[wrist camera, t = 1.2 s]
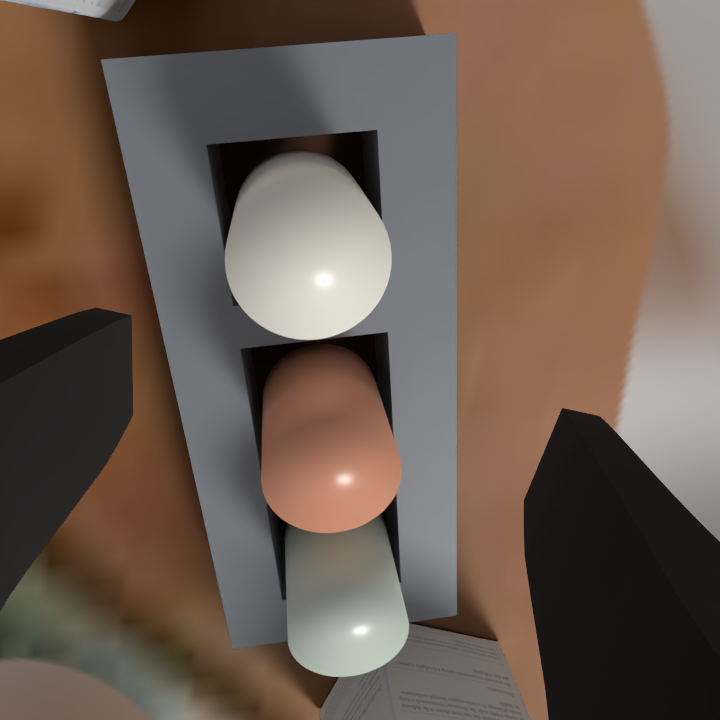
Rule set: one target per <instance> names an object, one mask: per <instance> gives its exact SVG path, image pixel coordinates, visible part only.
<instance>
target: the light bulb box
mask: <svg viewBox="0 0 720 720" xmlns="http://www.w3.org/2000/svg"><path fill="white" fill-rule="evenodd" d="M3 1H9V2H15V3H20V4H25V5H30V6H35V7H41V8H47V9H53V10H59V11H63V12H70V13H75V14H79V15H86V16H90V17H95V18H101V19H106V20H111V21H121V20H122V19H123V18H124V17H125V16H126V14H127V13H128V11H129V10H130V8H131V7H132V5H133V4H134V2H135V0H3Z"/></svg>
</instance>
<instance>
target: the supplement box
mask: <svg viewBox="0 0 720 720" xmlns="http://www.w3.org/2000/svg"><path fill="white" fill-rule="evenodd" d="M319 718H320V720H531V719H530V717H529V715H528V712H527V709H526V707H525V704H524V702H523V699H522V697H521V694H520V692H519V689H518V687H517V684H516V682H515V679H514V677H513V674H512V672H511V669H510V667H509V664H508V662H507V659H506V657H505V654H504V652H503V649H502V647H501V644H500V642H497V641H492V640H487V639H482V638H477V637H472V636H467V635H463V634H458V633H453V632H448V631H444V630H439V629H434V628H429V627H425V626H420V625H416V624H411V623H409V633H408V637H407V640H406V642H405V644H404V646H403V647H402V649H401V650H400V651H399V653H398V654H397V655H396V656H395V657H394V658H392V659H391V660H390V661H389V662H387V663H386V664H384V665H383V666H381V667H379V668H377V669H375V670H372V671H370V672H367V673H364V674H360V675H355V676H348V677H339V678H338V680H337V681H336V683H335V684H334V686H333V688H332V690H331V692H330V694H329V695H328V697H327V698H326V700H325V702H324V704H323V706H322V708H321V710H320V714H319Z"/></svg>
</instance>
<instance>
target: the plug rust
mask: <svg viewBox="0 0 720 720" xmlns="http://www.w3.org/2000/svg"><path fill="white" fill-rule="evenodd" d="M401 476H402V467H401V460H400V457H399V453H398V450H397V447H396V444H395V441H394V438H393V434H392V431H391V428H390V425H389V422H388V419H387V416H386V412H385V409H384V406H383V403H382V400H381V397H380V394H379V391H378V387H377V384H376V381H375V378H374V375H373V373H372V371H371V369H370V368H369V366H368V365H367V364H366V362H365V361H364V360H363V359H362V358H361V357H359V356H358V355H357V354H355V353H354V352H352V351H350V350H348V349H346V348H344V347H340V346H337V345H332V344H313V345H307V346H304V347H300V348H298V349H296V350H293V351H292V352H290V353H288V354H287V355H285V356H284V357H283V358H281V359H280V360H279V361H278V362H277V363H276V364H275V365H274V367H273V368H272V369H271V371H270V373H269V374H268V376H267V379H266V381H265V385H264V389H263V418H262V461H261V484H262V490H263V494H264V496H265V499H266V501H267V503H268V504H269V506H270V507H271V509H272V510H273V511H274V512H275V513H276V514H277V515H278V516H279V517H280V518H281V519H283V520H284V521H286V522H287V523H289V524H291V525H293V526H295V527H297V528H300V529H303V530H306V531H311V532H317V533H336V532H342V531H347V530H351V529H354V528H357V527H359V526H362V525H364V524H366V523H367V522H369V521H371V520H373V519H374V518H375V517H377V516H378V515H379V514H380V513H382V512H383V511H384V510H385V509H386V508H387V506H388V505H389V504H390V503H391V501H392V500H393V498H394V497H395V495H396V493H397V491H398V488H399V485H400V481H401Z"/></svg>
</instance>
